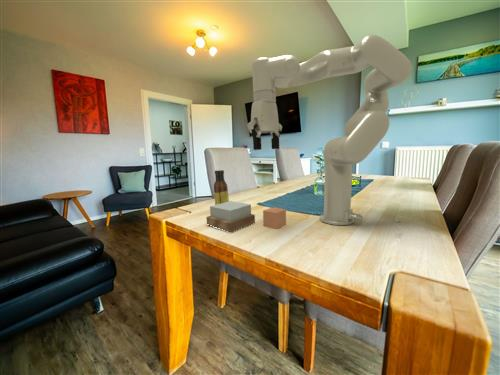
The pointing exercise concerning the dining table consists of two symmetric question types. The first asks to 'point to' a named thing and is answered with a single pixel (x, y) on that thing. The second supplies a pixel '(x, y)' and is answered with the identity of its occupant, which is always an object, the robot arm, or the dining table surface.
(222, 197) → the sauce bottle
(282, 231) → the dining table surface
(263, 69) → the robot arm
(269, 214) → the terracotta cube
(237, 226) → the walnut block
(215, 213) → the slate block
